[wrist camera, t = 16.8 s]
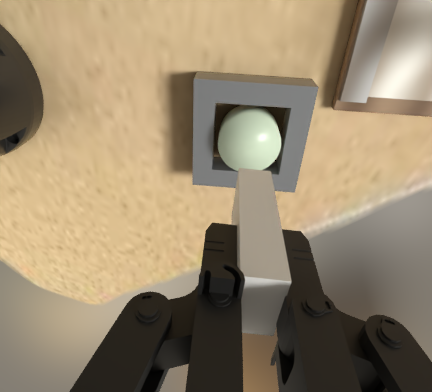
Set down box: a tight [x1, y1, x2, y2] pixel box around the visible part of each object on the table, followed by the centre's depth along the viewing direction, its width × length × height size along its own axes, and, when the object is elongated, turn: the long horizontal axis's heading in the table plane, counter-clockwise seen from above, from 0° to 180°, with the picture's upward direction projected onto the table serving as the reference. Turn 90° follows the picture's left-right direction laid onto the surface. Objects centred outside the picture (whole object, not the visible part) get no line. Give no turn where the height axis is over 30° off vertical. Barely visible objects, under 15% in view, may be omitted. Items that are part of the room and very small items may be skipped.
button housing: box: [193, 71, 318, 192], centre depth 32 cm, size 11×11×3 cm
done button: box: [218, 105, 281, 171], centre depth 31 cm, size 6×6×3 cm
